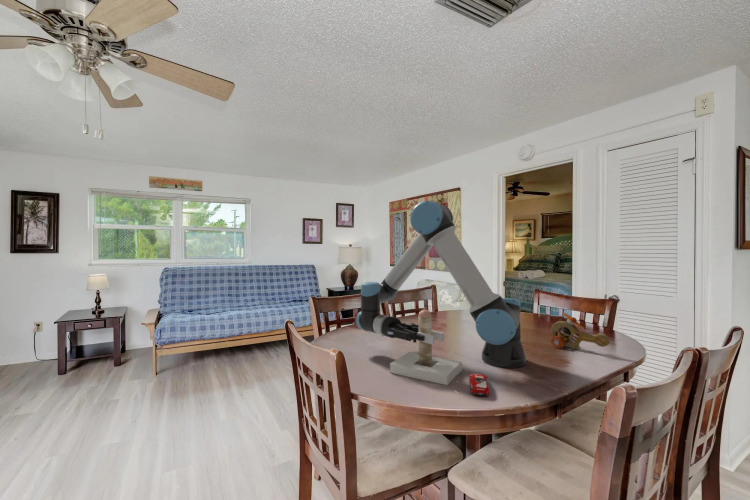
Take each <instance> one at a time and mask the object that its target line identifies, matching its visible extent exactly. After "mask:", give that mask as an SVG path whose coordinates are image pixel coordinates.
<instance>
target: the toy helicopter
mask: <svg viewBox="0 0 750 500" xmlns="http://www.w3.org/2000/svg"><path fill="white" fill-rule="evenodd" d="M562 316H564V317H566V318H567V319H566V321H565V320H561V321H559V320H558V321H557V322H554V323H553V324H552V326H551V328H550V331H551V334H552V335H551V336H552V337H551V338H550V344H551V346H552V347H553V348H555V349H561V348H563V347H566V348H567V347H569V348H571V349H572V350H574V351H575V350H578V349H580V343H582V342H587V343H588V342H589V343H594V344H596V345H597V346H599V347H602V348H604V347H606V346H608V345H610V344H611V343H610V342H611V338H609V336H608V335H607V334H605V333H601V332H600V333H597V334H594V333H590V332H586V331H581V330H580V329H582V330H585V327H584V326H582V324H581V323H579V321H577V318H576V317H574V316H573V317H572V316H571V315H570V314H568V313H564V312H562Z"/></svg>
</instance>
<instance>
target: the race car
mask: <svg viewBox="0 0 750 500" xmlns="http://www.w3.org/2000/svg"><path fill="white" fill-rule="evenodd" d="M468 378H469V379H468V381H469V388H470V394H471V395H474V396H479V397H480V396H482V397H488V396H490V386H489V383H488V379H489V377H488V376H486V375H485V374H482V373H470V374H469V376H468Z"/></svg>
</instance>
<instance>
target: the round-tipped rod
mask: <svg viewBox="0 0 750 500" xmlns="http://www.w3.org/2000/svg"><path fill="white" fill-rule="evenodd" d="M417 317H418V325H419V332H421V333H425V334H429V335H432V330H433V327H432V325H433V324H432V323H433V322H432V320H433V318H432V317H433V315H432V313H431V311H429V310H428V309H422V310H420V311H419V313H418V316H417ZM418 354H419V364H420V365H423V366H429V365H432V356H433V345H432V344H429V343H425V342H421V341H418Z"/></svg>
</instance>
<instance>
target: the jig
mask: <svg viewBox="0 0 750 500" xmlns="http://www.w3.org/2000/svg"><path fill="white" fill-rule="evenodd" d="M462 366H463V363H462V361H460V360H455V359H449V358H442V357H439V356H433V355H432V365H429V366H423V365H420V364H419V353H415V352H409V351H408V352H407V353H405V354H403V355H402V356H400V357H398V358H397V359H396V360H394V361H391V362H390V363H389V370H390V371H389V373H390V374H395V375H399V376H403V377H409V378H413V379H418V380H421V381H426V382H430V383H431V382H432V383H436V384H440V385H445V386H448V385H450V383H451V382H452V381H453V380H454V379H455V378H456V377H457V376H458V375H459V374H460V373H461V372H462V370H463V367H462Z"/></svg>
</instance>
